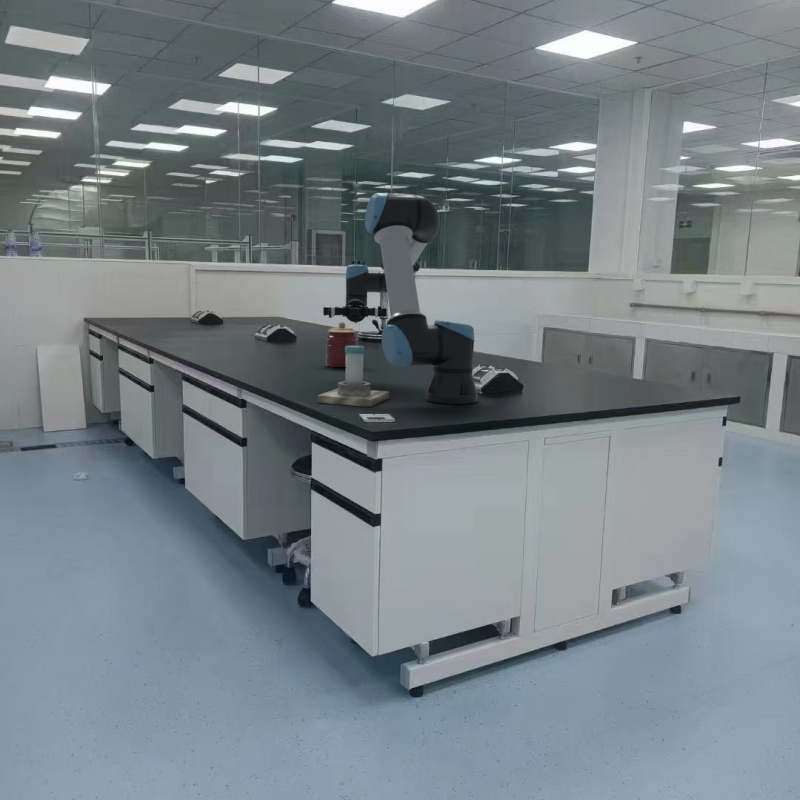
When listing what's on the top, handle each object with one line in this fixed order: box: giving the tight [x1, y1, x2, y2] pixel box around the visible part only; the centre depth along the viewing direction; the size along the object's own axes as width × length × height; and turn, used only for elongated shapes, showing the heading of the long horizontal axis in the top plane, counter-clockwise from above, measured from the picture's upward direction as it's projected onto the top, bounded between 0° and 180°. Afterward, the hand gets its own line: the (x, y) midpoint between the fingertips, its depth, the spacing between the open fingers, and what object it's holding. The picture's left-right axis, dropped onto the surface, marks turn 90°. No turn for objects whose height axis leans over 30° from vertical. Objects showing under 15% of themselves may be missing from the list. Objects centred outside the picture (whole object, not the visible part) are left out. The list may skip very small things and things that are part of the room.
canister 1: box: [325, 321, 359, 369], centre depth 283 cm, size 13×13×18 cm
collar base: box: [316, 380, 390, 408], centre depth 206 cm, size 16×16×5 cm
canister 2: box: [345, 345, 365, 385], centre depth 205 cm, size 5×5×14 cm
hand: (354, 312), depth 219 cm, fingers open, 13 cm apart
